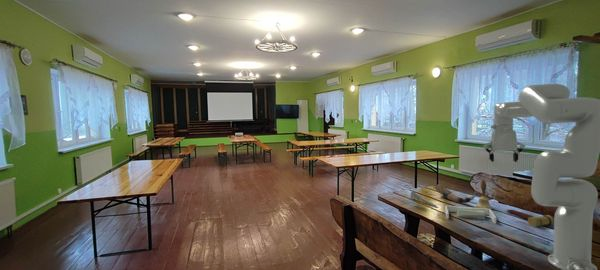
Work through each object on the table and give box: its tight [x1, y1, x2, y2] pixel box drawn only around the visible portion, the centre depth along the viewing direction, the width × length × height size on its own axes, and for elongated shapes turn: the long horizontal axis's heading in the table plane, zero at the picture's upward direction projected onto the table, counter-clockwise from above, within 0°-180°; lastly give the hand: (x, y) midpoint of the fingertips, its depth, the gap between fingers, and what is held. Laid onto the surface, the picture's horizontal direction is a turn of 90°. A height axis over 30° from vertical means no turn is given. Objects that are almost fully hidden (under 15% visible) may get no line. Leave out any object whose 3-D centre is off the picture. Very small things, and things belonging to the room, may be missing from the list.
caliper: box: [410, 190, 439, 209], centre depth 169 cm, size 20×1×6 cm, turn 23°
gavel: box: [506, 209, 554, 228], centre depth 139 cm, size 21×5×10 cm
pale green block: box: [456, 206, 486, 220], centre depth 145 cm, size 5×12×4 cm, turn 66°
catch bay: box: [444, 204, 497, 224], centre depth 145 cm, size 13×22×3 cm, turn 66°
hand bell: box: [475, 179, 493, 210], centre depth 156 cm, size 8×8×16 cm
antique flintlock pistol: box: [434, 182, 479, 204], centre depth 168 cm, size 6×30×10 cm, turn 18°
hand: (503, 161), depth 137 cm, fingers open, 9 cm apart
